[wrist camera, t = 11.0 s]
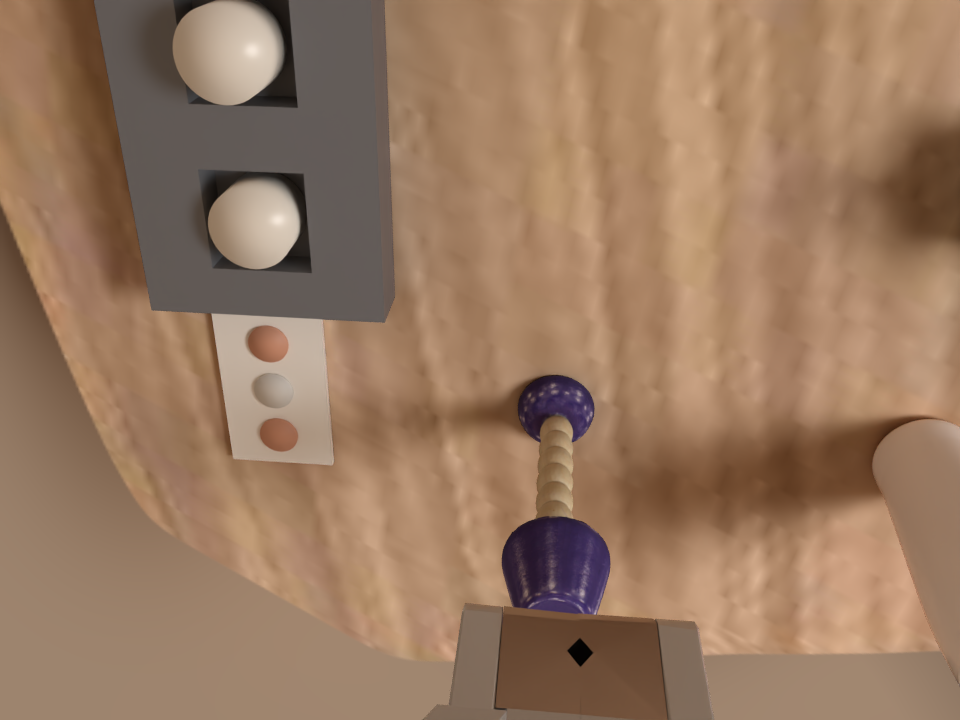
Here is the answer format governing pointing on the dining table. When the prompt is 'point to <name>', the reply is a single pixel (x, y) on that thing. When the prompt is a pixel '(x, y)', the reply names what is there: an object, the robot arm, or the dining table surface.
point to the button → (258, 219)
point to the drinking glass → (927, 519)
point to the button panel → (260, 160)
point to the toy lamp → (556, 510)
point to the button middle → (229, 50)
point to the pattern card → (275, 388)
